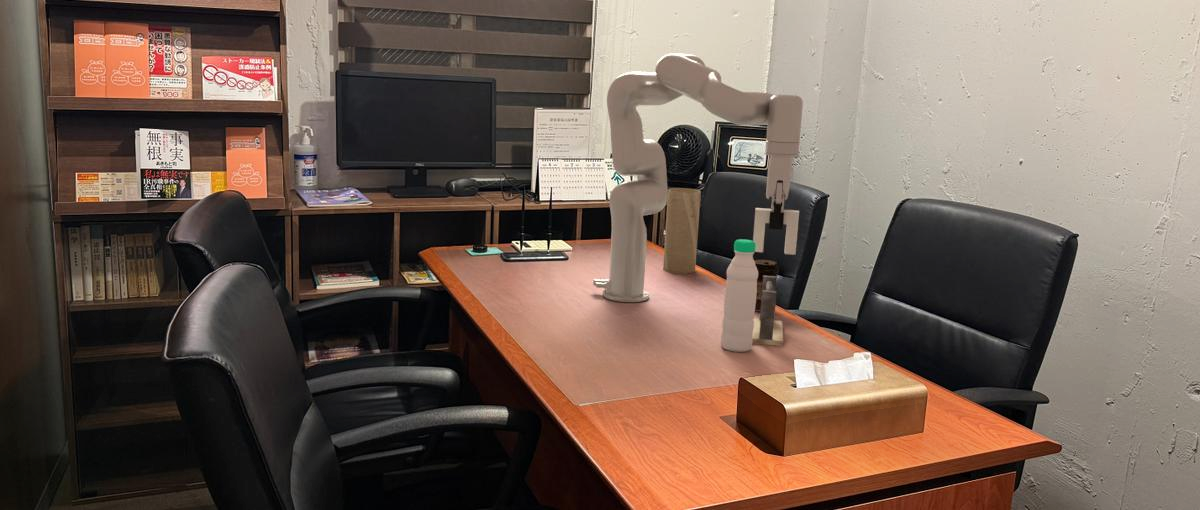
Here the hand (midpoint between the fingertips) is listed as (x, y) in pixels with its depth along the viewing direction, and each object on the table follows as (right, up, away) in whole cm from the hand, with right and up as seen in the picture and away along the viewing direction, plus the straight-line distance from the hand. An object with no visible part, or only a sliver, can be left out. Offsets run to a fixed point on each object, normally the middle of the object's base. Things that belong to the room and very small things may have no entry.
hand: (775, 227), depth 205 cm
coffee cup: (+1, -21, +27) cm, 35 cm away
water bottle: (-10, -28, -6) cm, 30 cm away
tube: (-16, -11, +68) cm, 71 cm away
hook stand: (-1, -26, +6) cm, 26 cm away
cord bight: (0, -6, +1) cm, 6 cm away
